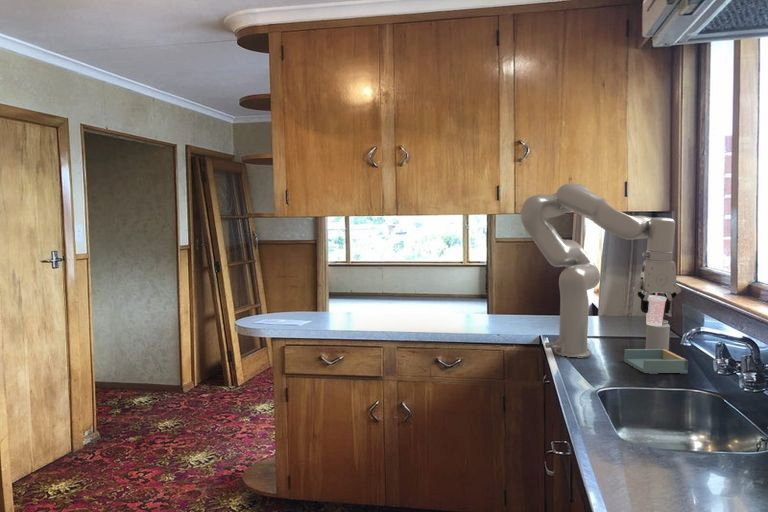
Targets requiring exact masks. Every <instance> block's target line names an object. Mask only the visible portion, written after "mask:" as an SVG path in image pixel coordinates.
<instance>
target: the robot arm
mask: <svg viewBox="0 0 768 512" xmlns="http://www.w3.org/2000/svg"><path fill="white" fill-rule="evenodd" d="M570 212H573V213H576V214H578V215H579V216H582V217H584V218H586V219H587V220H590V221H591V222H593V223H594V224H595V225H597V226H598V227H600V228H601V229H602V230H605V231H606V232H608V233H610V234H612V235H614V236H617V237H619V238H620V239H624V240H628V241H632V240H640V239H647V241H646V242H647V243H646V244H647V245H646V251H645V252H642V255H641V256H642V258H645V259H644V260H643V263H642V267H641V270H640V274H639V275H640V276H639V281H638V282H637V283H636V284H635V285H634V286H632V288H631V290H632V291H633V292H634V293H635V294H636V295H637V296H638V297H639V299H640V300H641V301H640V310H641V312H642V313H644V314H646V313H648V306H649V301H647V299H648V297H649V295H651V294H656V293H657V294H662V295H663V297H666V298H667V299H666V301H665V308H664V314H669V313H670V310H671V302H672V301H673V299H674V298H675V297H676V296H677V295H678V294H680V293H681V292H682V288H681V287H680V286H679V284H677V268H676V267H677V265H676V262H675V261H673V255H674V244H675V231H676V221H675V220H674V219H673V218H671V217H651V216H645V215H629V214H626V213H625V212H622V211H620V210H619V209H618V210H617V209H616V208H614V207H612V206H611V205H610V204H609V203H608V201H607V199H606V198H605V197H603V196H600V195H598V194H596V193H594V192H591V191H590V189H589V188H588V187H587V186H586V185H584V184H582V183H564V184H563V185H561V186H560V187H558V189H557V191H556V192H555V193H552V194H536V195H532V196H529V197H527V198H526V199H525V201H524V202H523V203H522V206H521V209H520V220H521V223H522V225H523V228H524V229H525V231H526V232H527V234H528V235H529V236H530V237H531V239H532V241H533V242H534V243H535V244H536V246H537V249H539V251H540V252H541V254H542V255H543V256H544V258H545V259H546V261H547V262H548V263H549V265H551V266H553V267H555V268H561V267H565V268H564V269H563V270H562V271H561V273H560V274H559V276H558V277H559V279H558V287H559V288H558V289H559V297H560V300H559V301H560V305H559V309H560V310H559V332H558V333H559V334H558V336H559V337H558V339H557V338H556V341H553V342H548V341H547V342H545V343H544V345H545V346H544V347H545V348H546V349H551V350H553V352H554V354H556V355H557V354H558V355H557V356H560V355H561V356H560V357H564V356H567V357H566V358H569V357H577V358H576V359H585V358H590V357H591V356H592V350H590V349H588V334H589V333H588V332H589V331H588V330H589V307H590V305H589V304H590V303H589V297H588V291H589V290H591V289H593V288H596V287H597V286H598V285H599V282H600V280H601V275H600V274H601V273H600V271H599V268H598V267H597V265H596V264H595V262H594V261H593V260H592V258H591V257H590V256H589V254H588V253H587V252H586V251H585V249H584V248H583V247H582V246H581V244H580V243H578V242H577V241H575V240H573V239H563V237H562V236H560V234H559V233H558V232H557V229H556V228H554V226H553V225H552V224H551V223H550V222H548V220H547V219H550V218H557V217H559V216H562V215H565V214H567V213H570Z"/></svg>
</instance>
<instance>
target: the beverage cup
mask: <svg viewBox="0 0 768 512" xmlns="http://www.w3.org/2000/svg"><path fill="white" fill-rule="evenodd" d="M666 299H667V298H666V297H664V295H663V296H662V295H658V293H655V294H650V295H649V297H648V299H647V301H649V306H648V313H645V314H646V315H645V316H646V317H645V318H646V319H645V323H646V326H647V325H651V326H662V321H663V320H664V314H665V313H664V308H665V301H666Z"/></svg>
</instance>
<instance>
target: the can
mask: <svg viewBox="0 0 768 512" xmlns="http://www.w3.org/2000/svg"><path fill="white" fill-rule="evenodd" d="M670 331H671V325H670V324H669V321H668V320H665V319H663V321H662V326H651V325H647V324H646V333H645V334H646V335H645V349H666V350H668V351H669V349H670Z"/></svg>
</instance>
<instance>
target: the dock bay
mask: <svg viewBox="0 0 768 512" xmlns="http://www.w3.org/2000/svg"><path fill="white" fill-rule="evenodd" d="M623 353H624V354H623V362H624V363H626V364H627V363H628V364H627V365H630V367H632V366H633V368H634V369H636V370H637V369H638V371H639V370H640V371H639V372H641V371H642V372H644V373H649V374H648V375H659V374H658V373H680V374H688V370H689V369H688V368H689V359H686V358H684V357H681V356H680V355H677V354H676V353H674V352H672V351H669V350H666V349H646V348H638V349H637V348H629V349H628V348H627V349H626V348H624V352H623ZM642 372H641V373H642ZM644 373H643V374H644Z"/></svg>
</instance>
